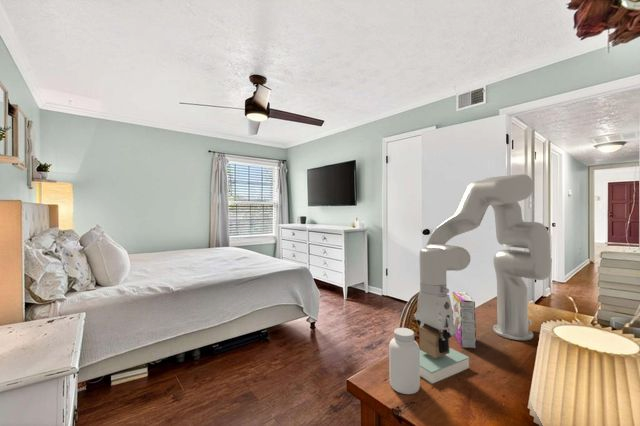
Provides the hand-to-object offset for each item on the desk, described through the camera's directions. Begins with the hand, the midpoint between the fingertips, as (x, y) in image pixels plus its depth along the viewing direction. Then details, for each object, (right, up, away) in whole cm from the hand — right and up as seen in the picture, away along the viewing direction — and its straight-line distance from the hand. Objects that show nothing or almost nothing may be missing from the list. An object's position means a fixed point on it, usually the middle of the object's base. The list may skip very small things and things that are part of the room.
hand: (434, 346), depth 87 cm
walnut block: (0, -1, 0) cm, 1 cm away
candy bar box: (+17, -5, +15) cm, 24 cm away
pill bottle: (-12, -6, -10) cm, 17 cm away
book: (0, -6, 0) cm, 6 cm away
